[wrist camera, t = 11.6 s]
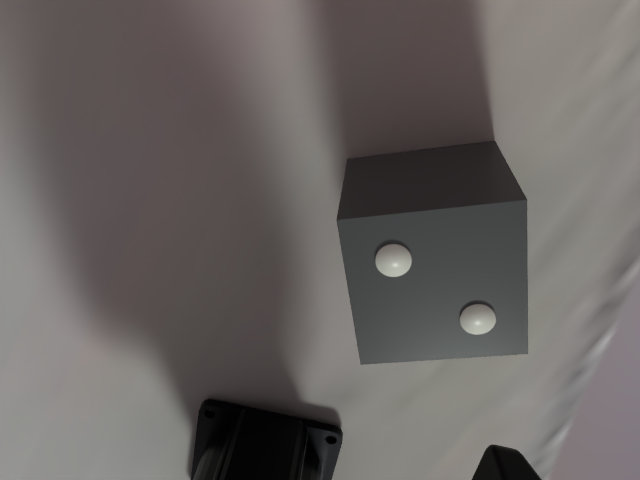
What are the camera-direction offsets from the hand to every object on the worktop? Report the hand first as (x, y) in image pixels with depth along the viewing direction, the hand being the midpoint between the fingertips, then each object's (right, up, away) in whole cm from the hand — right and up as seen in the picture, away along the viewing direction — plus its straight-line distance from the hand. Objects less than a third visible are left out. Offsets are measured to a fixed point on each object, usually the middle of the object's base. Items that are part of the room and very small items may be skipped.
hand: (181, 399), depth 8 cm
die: (+6, +3, +12) cm, 14 cm away
